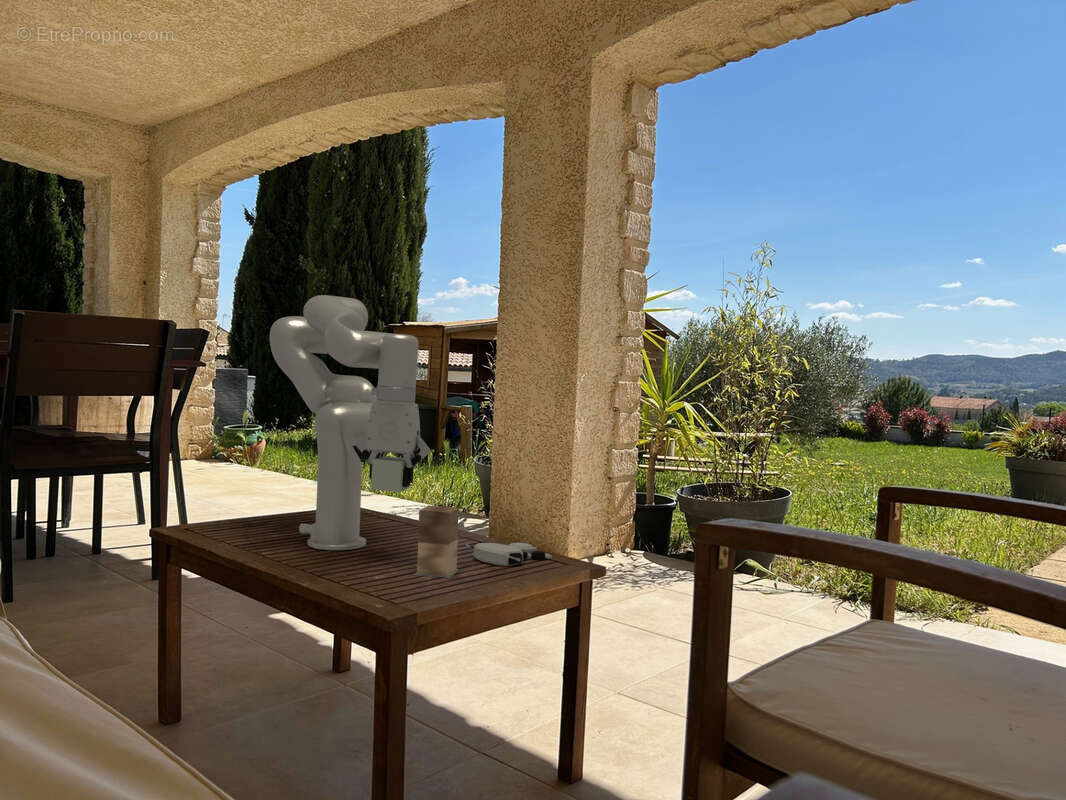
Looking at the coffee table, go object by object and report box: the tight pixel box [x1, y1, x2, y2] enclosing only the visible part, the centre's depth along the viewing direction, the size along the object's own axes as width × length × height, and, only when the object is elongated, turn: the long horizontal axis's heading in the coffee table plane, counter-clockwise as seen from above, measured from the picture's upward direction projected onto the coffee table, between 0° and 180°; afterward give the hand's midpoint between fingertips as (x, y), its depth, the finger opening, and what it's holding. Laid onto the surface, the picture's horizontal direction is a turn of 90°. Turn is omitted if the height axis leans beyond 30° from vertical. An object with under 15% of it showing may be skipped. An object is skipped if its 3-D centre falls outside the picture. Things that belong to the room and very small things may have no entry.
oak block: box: [416, 538, 459, 578], centre depth 151 cm, size 6×6×6 cm
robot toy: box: [465, 542, 552, 567], centre depth 165 cm, size 12×4×15 cm
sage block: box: [370, 455, 411, 493], centre depth 160 cm, size 6×6×6 cm
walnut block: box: [417, 505, 460, 545], centre depth 151 cm, size 6×6×6 cm
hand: (390, 483), depth 160 cm, fingers closed on sage block, 6 cm apart
